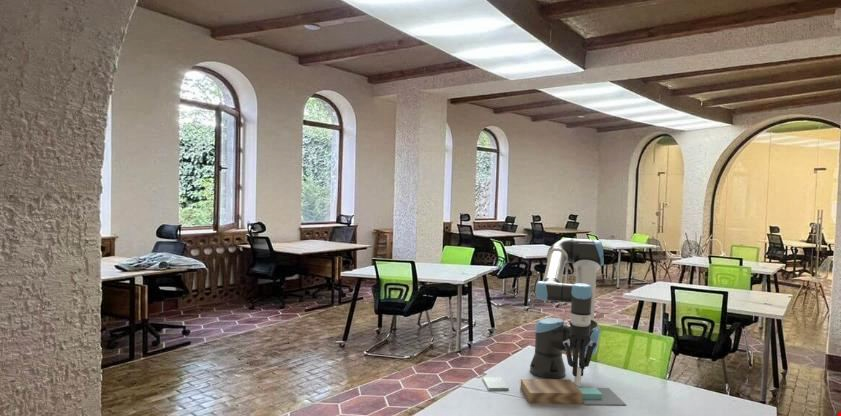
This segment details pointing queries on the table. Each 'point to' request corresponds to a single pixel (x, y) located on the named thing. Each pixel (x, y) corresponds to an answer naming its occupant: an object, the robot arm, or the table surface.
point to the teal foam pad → (590, 393)
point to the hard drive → (495, 384)
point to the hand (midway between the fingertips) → (577, 384)
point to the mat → (604, 398)
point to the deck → (551, 391)
